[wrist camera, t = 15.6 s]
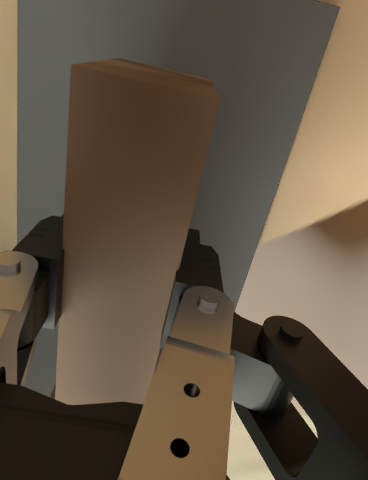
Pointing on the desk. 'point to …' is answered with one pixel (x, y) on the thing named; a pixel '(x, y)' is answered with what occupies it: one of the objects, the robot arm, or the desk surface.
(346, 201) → the desk surface
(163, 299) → the stick
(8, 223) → the desk surface
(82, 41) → the mat
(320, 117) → the desk surface
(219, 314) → the robot arm
